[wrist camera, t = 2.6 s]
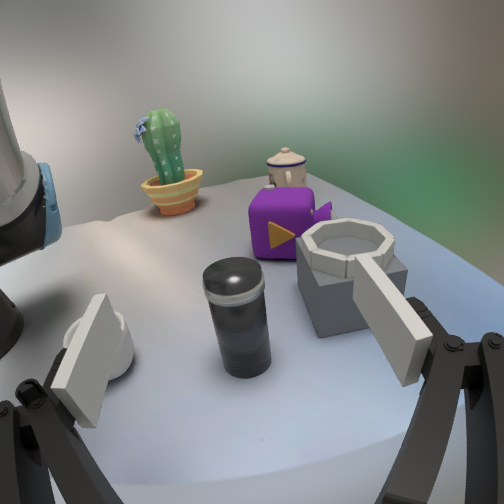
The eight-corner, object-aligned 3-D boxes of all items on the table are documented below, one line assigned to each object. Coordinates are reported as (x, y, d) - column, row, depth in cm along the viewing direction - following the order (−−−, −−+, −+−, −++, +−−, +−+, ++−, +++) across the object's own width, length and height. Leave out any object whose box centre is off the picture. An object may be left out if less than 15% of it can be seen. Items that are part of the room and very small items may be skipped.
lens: (223, 382, 30) (199, 293, 25) (221, 346, 35) (202, 260, 30) (276, 375, 30) (267, 284, 25) (269, 339, 35) (259, 252, 30)
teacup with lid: (270, 191, 81) (265, 146, 76) (305, 188, 80) (302, 143, 75) (270, 208, 70) (265, 156, 65) (311, 204, 70) (308, 152, 64)
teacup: (95, 342, 37) (79, 309, 34) (148, 343, 36) (134, 308, 34) (67, 402, 28) (43, 369, 25) (125, 410, 27) (103, 375, 25)
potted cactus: (161, 200, 86) (144, 112, 74) (214, 195, 83) (200, 101, 72) (137, 223, 73) (114, 119, 61) (199, 218, 70) (179, 105, 58)
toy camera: (342, 261, 48) (343, 198, 43) (252, 267, 49) (244, 205, 44) (331, 231, 57) (330, 177, 52) (256, 236, 59) (249, 183, 54)
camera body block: (318, 338, 34) (319, 268, 30) (297, 284, 44) (294, 223, 40) (398, 320, 34) (410, 252, 30) (365, 272, 44) (368, 213, 40)
